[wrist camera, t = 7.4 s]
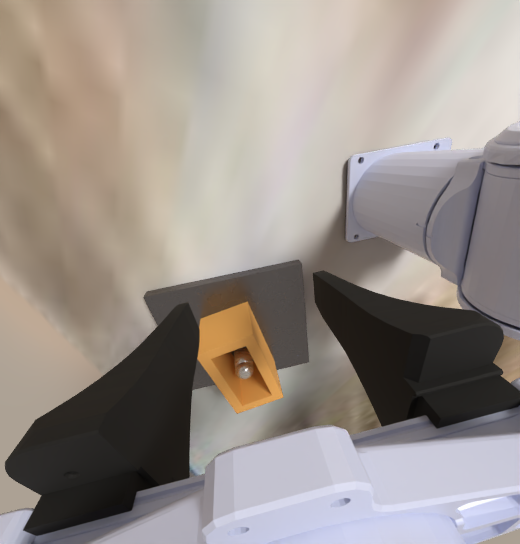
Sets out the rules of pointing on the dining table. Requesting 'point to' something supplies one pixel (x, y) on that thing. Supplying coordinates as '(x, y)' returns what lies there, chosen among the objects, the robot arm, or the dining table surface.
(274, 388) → the orange hollow rectangular block
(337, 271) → the dining table surface
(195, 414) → the dining table surface
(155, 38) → the dining table surface
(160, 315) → the keeper plate
